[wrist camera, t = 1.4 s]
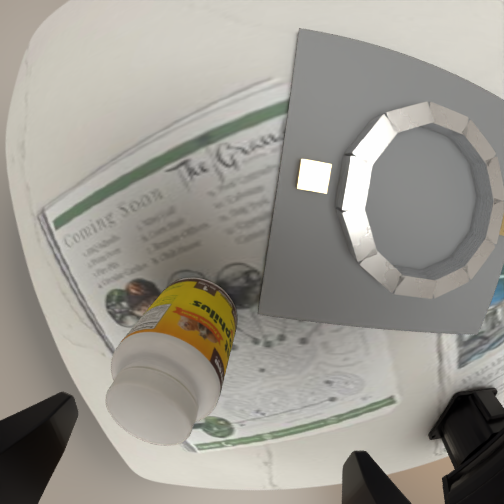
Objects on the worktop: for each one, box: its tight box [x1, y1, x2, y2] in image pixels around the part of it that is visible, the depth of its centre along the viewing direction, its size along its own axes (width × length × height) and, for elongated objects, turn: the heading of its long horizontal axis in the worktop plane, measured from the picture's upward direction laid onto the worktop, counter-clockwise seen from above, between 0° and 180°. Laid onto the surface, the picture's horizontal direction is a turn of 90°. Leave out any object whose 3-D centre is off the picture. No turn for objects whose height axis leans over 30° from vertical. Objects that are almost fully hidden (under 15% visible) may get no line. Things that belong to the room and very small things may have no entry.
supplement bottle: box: [106, 278, 237, 446], centre depth 16 cm, size 6×6×10 cm
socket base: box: [258, 28, 504, 335], centre depth 16 cm, size 18×18×3 cm
